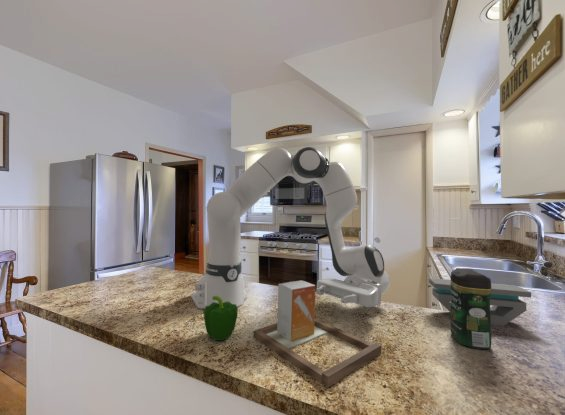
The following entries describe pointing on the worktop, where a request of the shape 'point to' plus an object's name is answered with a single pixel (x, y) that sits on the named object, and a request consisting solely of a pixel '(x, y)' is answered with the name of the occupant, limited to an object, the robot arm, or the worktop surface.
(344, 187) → the robot arm
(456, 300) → the coffee jar
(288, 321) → the small box
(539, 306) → the worktop surface
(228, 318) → the bell pepper
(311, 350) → the worktop surface
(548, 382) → the worktop surface
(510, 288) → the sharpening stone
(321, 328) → the brown wooden frame
